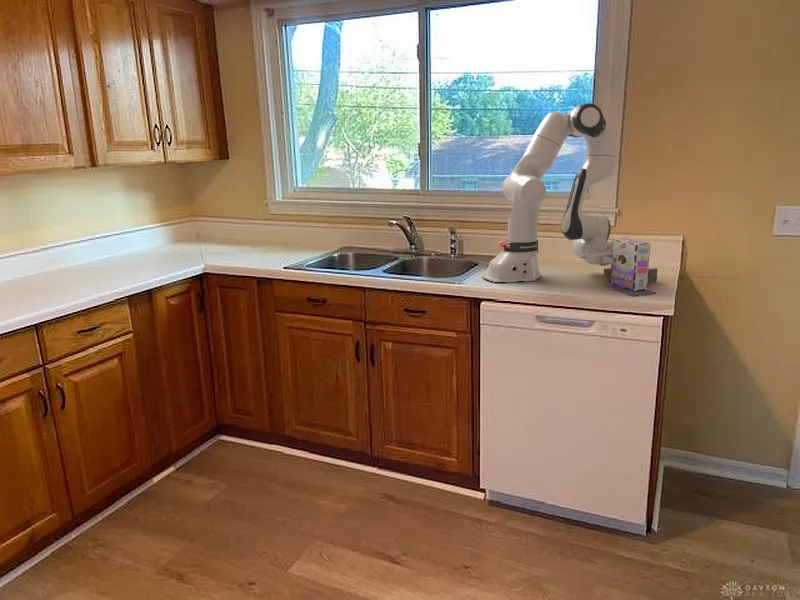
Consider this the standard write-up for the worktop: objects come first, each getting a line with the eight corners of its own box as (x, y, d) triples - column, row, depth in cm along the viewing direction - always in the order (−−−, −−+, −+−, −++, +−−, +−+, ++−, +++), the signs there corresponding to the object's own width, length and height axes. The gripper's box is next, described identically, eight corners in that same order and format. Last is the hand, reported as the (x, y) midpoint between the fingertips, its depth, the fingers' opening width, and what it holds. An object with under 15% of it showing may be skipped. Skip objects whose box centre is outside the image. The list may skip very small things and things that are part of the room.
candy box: (648, 290, 212) (651, 242, 208) (633, 292, 211) (636, 244, 206) (623, 282, 225) (626, 236, 221) (609, 283, 223) (611, 238, 219)
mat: (632, 296, 208) (632, 294, 208) (605, 286, 223) (605, 284, 222) (656, 293, 210) (656, 292, 210) (627, 283, 225) (627, 282, 225)
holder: (632, 285, 223) (633, 271, 221) (603, 275, 239) (604, 262, 238) (656, 282, 225) (657, 268, 224) (626, 272, 242) (627, 259, 241)
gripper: (578, 247, 226) (599, 253, 213) (627, 242, 231) (651, 248, 218) (577, 264, 228) (598, 271, 215) (626, 259, 233) (649, 266, 220)
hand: (625, 259), depth 217 cm, fingers open, 8 cm apart
